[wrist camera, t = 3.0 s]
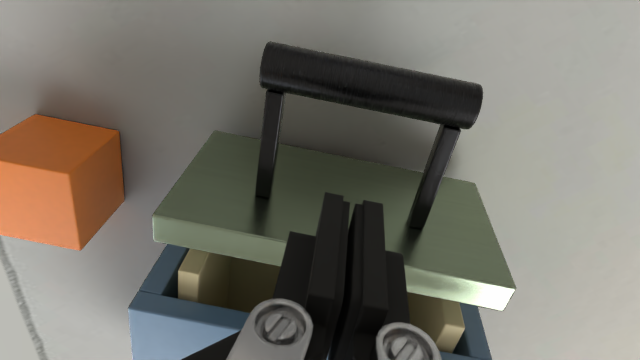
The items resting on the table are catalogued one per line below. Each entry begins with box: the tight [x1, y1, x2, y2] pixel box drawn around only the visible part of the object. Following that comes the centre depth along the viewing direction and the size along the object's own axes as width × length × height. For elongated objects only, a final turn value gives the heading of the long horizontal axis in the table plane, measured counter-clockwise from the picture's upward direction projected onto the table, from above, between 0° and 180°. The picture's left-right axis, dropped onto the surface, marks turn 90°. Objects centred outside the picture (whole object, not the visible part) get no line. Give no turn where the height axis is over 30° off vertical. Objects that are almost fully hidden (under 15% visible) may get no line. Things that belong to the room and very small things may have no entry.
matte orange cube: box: [0, 114, 125, 251], centre depth 21 cm, size 4×4×4 cm
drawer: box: [152, 41, 516, 353], centre depth 20 cm, size 20×13×7 cm, turn 170°
